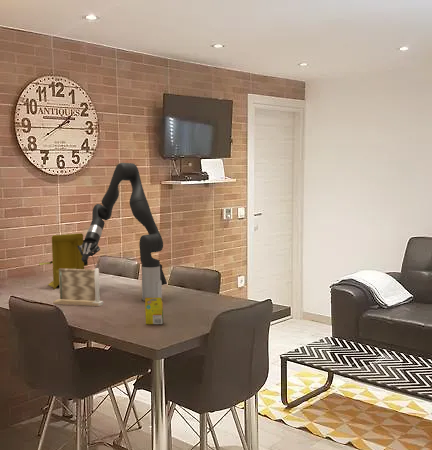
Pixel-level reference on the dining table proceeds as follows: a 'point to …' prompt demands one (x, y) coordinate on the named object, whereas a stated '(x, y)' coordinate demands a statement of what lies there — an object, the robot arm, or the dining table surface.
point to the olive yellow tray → (66, 255)
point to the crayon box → (154, 311)
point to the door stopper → (162, 276)
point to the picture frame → (82, 302)
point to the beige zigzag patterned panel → (77, 284)
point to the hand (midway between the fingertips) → (83, 261)
